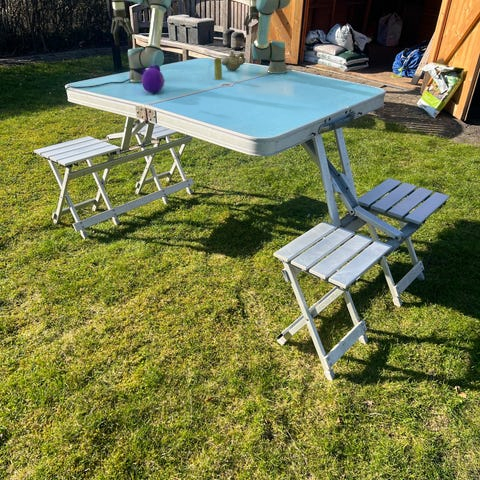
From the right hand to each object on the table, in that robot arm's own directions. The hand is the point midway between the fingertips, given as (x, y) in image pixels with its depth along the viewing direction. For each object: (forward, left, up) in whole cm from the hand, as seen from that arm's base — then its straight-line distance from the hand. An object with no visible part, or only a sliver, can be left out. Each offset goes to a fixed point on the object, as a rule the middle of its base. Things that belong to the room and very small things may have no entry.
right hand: (254, 35), depth 368 cm
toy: (+102, +47, -25) cm, 115 cm away
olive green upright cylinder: (+45, +29, -25) cm, 59 cm away
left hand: (+115, +38, +4) cm, 121 cm away
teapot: (+22, +5, -25) cm, 34 cm away
